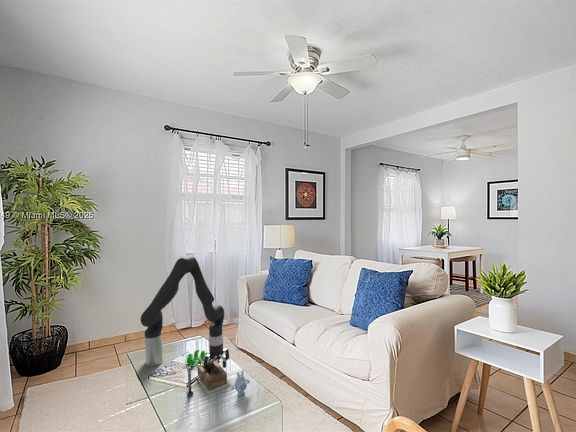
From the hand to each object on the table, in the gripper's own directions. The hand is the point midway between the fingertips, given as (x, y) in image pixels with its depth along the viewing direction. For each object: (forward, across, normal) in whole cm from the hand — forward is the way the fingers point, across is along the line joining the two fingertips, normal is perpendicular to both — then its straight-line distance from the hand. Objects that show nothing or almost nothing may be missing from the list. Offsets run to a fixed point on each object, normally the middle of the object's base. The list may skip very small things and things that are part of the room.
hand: (216, 370), depth 176 cm
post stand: (+4, +18, +7) cm, 19 cm away
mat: (+4, +4, +3) cm, 6 cm away
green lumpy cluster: (+4, +3, -21) cm, 22 cm away
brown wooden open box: (+3, +4, +2) cm, 5 cm away
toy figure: (+4, -3, +22) cm, 22 cm away
